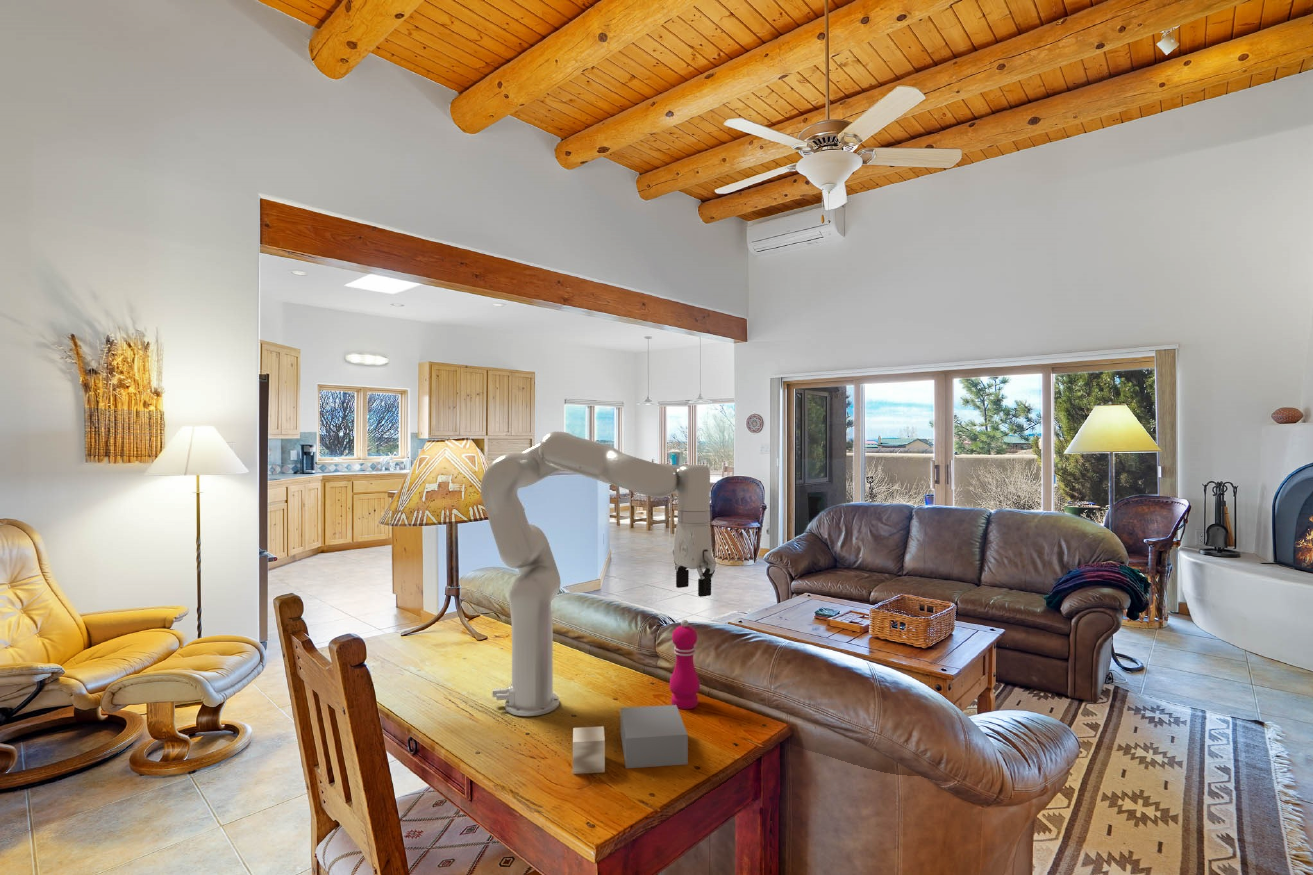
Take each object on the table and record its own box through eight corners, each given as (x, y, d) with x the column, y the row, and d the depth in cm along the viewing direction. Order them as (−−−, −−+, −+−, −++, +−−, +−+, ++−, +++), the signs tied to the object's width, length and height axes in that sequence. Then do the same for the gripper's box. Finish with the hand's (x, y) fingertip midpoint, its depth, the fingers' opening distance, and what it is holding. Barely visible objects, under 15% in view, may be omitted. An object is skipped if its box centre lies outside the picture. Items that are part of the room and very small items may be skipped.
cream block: (572, 774, 118) (572, 742, 118) (573, 758, 124) (573, 727, 124) (604, 772, 119) (604, 740, 119) (603, 756, 125) (603, 726, 125)
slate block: (625, 769, 120) (625, 738, 120) (620, 736, 134) (620, 707, 134) (687, 765, 122) (687, 734, 122) (676, 732, 136) (676, 704, 136)
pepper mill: (690, 712, 145) (690, 625, 145) (663, 705, 149) (663, 621, 149) (705, 701, 151) (705, 618, 151) (679, 695, 155) (679, 614, 155)
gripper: (661, 514, 152) (661, 585, 152) (700, 523, 137) (699, 601, 137) (687, 513, 156) (687, 582, 156) (728, 521, 141) (727, 597, 141)
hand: (693, 591), depth 146 cm, fingers open, 9 cm apart
